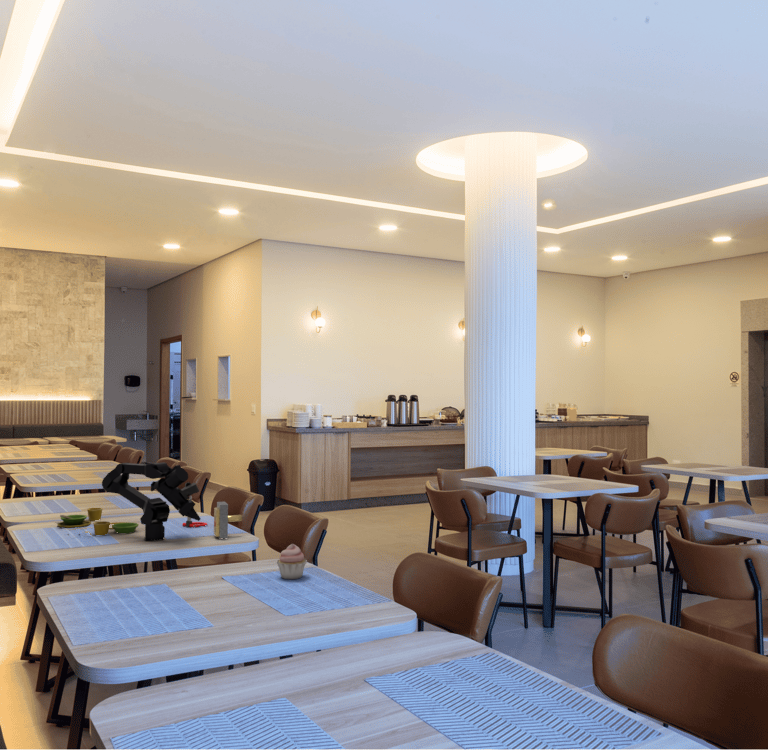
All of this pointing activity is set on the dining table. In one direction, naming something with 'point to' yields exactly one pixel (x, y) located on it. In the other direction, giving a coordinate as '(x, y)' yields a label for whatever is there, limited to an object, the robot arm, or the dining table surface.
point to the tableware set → (99, 527)
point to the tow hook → (192, 524)
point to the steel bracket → (223, 519)
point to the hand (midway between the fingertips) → (199, 519)
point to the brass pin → (230, 519)
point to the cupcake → (291, 563)
